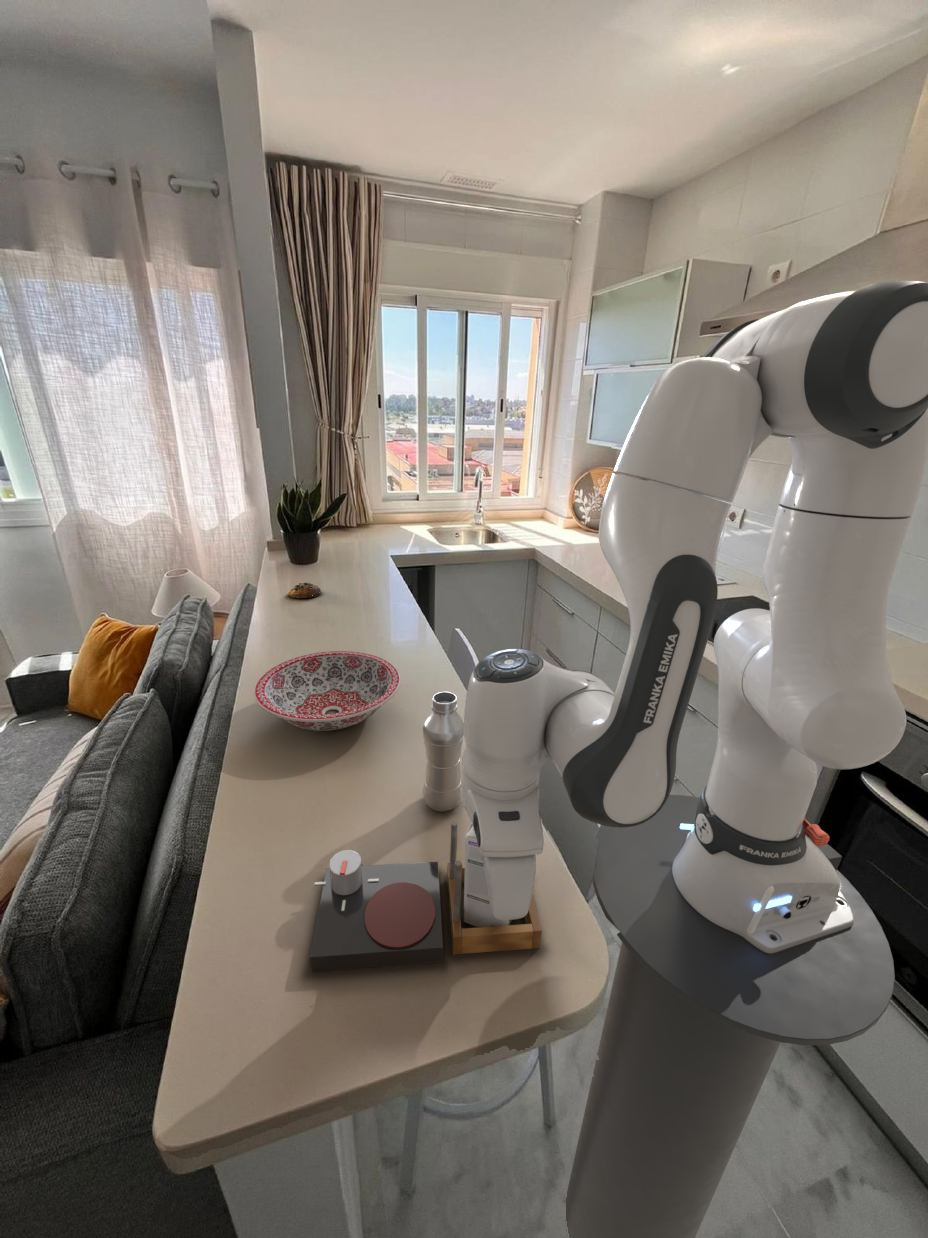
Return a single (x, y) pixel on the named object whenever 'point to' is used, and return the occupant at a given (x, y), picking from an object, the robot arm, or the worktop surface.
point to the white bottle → (443, 753)
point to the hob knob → (345, 872)
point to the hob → (344, 926)
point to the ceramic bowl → (327, 689)
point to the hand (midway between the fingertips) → (492, 875)
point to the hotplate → (399, 915)
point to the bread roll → (304, 591)
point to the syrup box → (477, 887)
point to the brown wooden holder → (485, 936)
